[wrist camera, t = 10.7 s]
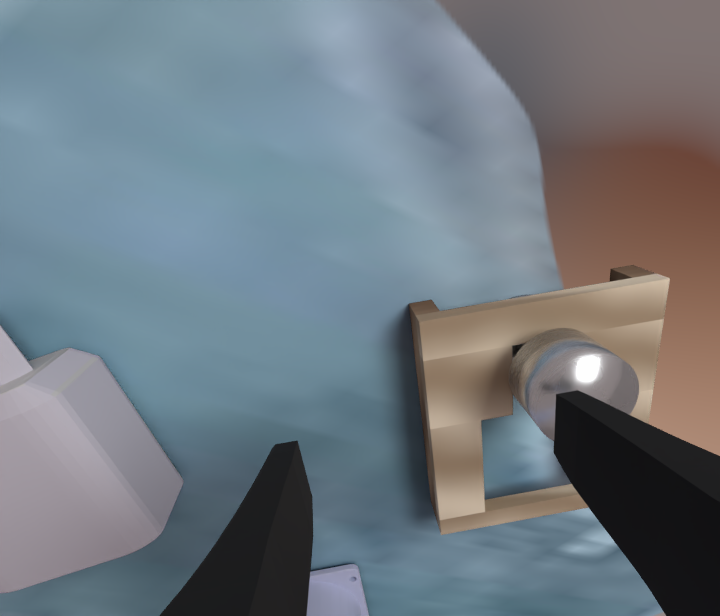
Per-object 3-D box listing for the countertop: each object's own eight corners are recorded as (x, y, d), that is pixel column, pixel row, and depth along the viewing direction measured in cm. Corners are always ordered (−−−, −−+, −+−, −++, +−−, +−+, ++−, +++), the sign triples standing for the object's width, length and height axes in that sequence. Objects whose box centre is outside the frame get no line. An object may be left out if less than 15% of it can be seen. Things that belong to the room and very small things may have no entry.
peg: (565, 370, 23) (642, 439, 17) (477, 387, 23) (526, 462, 17) (567, 286, 21) (654, 334, 16) (471, 304, 21) (525, 359, 15)
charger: (32, 235, 18) (188, 472, 24) (-149, 301, 18) (47, 519, 24) (-63, 262, 14) (157, 546, 19) (-297, 348, 14) (-15, 601, 20)
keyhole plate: (610, 468, 26) (637, 498, 24) (431, 502, 26) (441, 534, 24) (633, 264, 21) (669, 278, 19) (408, 303, 21) (419, 322, 18)
